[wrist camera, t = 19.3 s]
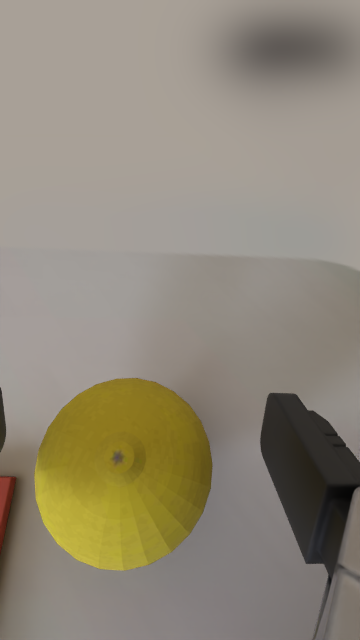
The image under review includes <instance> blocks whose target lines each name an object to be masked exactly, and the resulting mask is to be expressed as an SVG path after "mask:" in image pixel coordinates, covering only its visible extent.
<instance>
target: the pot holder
mask: <svg viewBox="0 0 360 640" xmlns="http://www.w3.org/2000/svg"><path fill="white" fill-rule="evenodd" d="M15 481H16V477H0V553H1V548H2V544H3V539H4V534H5V529H6V524H7V520H8V515H9V510H10V505H11V500H12V495H13V491H14V486H15Z"/></svg>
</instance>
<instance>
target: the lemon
mask: <svg viewBox="0 0 360 640" xmlns="http://www.w3.org/2000/svg"><path fill="white" fill-rule="evenodd" d="M34 477H35V494H36V501H37V504H38V508H39V511H40V514H41V517H42V520H43V523H44V524H45V526H46V527H47V529H48V530H49V532H50V533H51V535H52V536H53V538H54V539H55V541H56V542H57V544H58V545H60V546H61V547H62V548H63V549H64V550H66V551H67V552H68V553H69V554H71V555H72V556H73V557H74V558H75V559H77V560H79V561H81V562H84V563H86V564H89V565H91V566H94V567H96V568H99V569H108V570H129V569H133V568H137V567H141V566H145V565H149V564H151V563H153V562H155V561H157V560H159V559H160V558H162V557H164V556H166V555H167V554H169V553H171V552H172V551H173V550H174V549H175V548H176V547H177V546H178V545H179V544H180V543H181V542H182V541H183V540H184V539H185V538H186V537H187V536H188V535H189V534H190V533H191V531H192V530H193V528H194V526H195V525H196V523H197V521H198V520H199V518H200V516H201V515H202V513H203V511H204V508H205V504H206V501H207V498H208V495H209V492H210V489H211V477H212V458H211V452H210V445H209V441H208V438H207V435H206V433H205V430H204V428H203V425H202V423H201V421H200V419H199V418H198V417H197V415H196V414H195V412H194V411H193V410H192V408H191V407H190V405H189V404H188V403H186V402H185V401H184V400H183V399H182V398H181V397H179V396H178V395H177V394H176V393H175V392H174V391H172V390H170V389H168V388H166V387H164V386H162V385H160V384H158V383H156V382H152V381H147V380H143V379H138V378H127V379H114V380H111V381H107V382H103V383H100V384H96V385H95V386H93V387H91V388H89V389H87V390H85V391H84V392H82V393H80V394H78V395H77V396H76V397H75V398H74V399H72V400H71V401H70V402H69V403H68V404H67V405H66V406H65V407H63V408H62V409H61V411H60V412H59V414H58V415H57V416H56V418H55V419H54V420H53V422H52V423H51V425H50V426H49V427H48V429H47V432H46V434H45V436H44V439H43V441H42V443H41V446H40V448H39V451H38V456H37V462H36V468H35V473H34Z"/></svg>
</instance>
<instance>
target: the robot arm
mask: <svg viewBox="0 0 360 640" xmlns="http://www.w3.org/2000/svg"><path fill="white" fill-rule="evenodd" d="M5 437H6V424H5V416H4V407H3V399H2V391H1V388H0V452H1V450H2V448H3V445H4V442H5ZM260 444H261V452H262V456H263V459H264V461H265V463H266V466H267V468H268V471H269V473H270V476H271V478H272V481H273V483H274V486H275V488H276V491H277V493H278V496H279V498H280V501H281V503H282V505H283V508H284V510H285V513H286V515H287V518H288V520H289V523H290V525H291V528H292V530H293V533H294V535H295V538H296V540H297V542H298V545H299V547H300V550H301V552H302V555H303V557H304V560H305V562H306V564H324V565H325V567H326V569H327V572H328V574H329V575H328V578H327V581H326V585H325V589H324V593H323V597H322V602H321V606H320V610H319V614H318V618H317V622H316V626H315V630H314V634H313V639H312V640H360V462H359V461H358V460H357V458H356V457H355V456H354V454H353V453H352V452H351V451H350V449H349V448H348V447H346V444H345V443H344V441H343V440H342V439H341V438H340V436H338V434H337V432H336V431H335V430H334V429H333V427H332V426H331V425H330V423H329V422H328V421H327V420H325V419H324V418H323V417H321V416H320V415H318V414H317V413H316V412H314V411H308V410H307V409H306V407H305V406H304V405H303V403H302V402H301V400H300V399H299V398H298V396H297V395H296V394H288V393H270V394H269V395H268V398H267V402H266V408H265V413H264V419H263V425H262V431H261V438H260Z"/></svg>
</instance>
